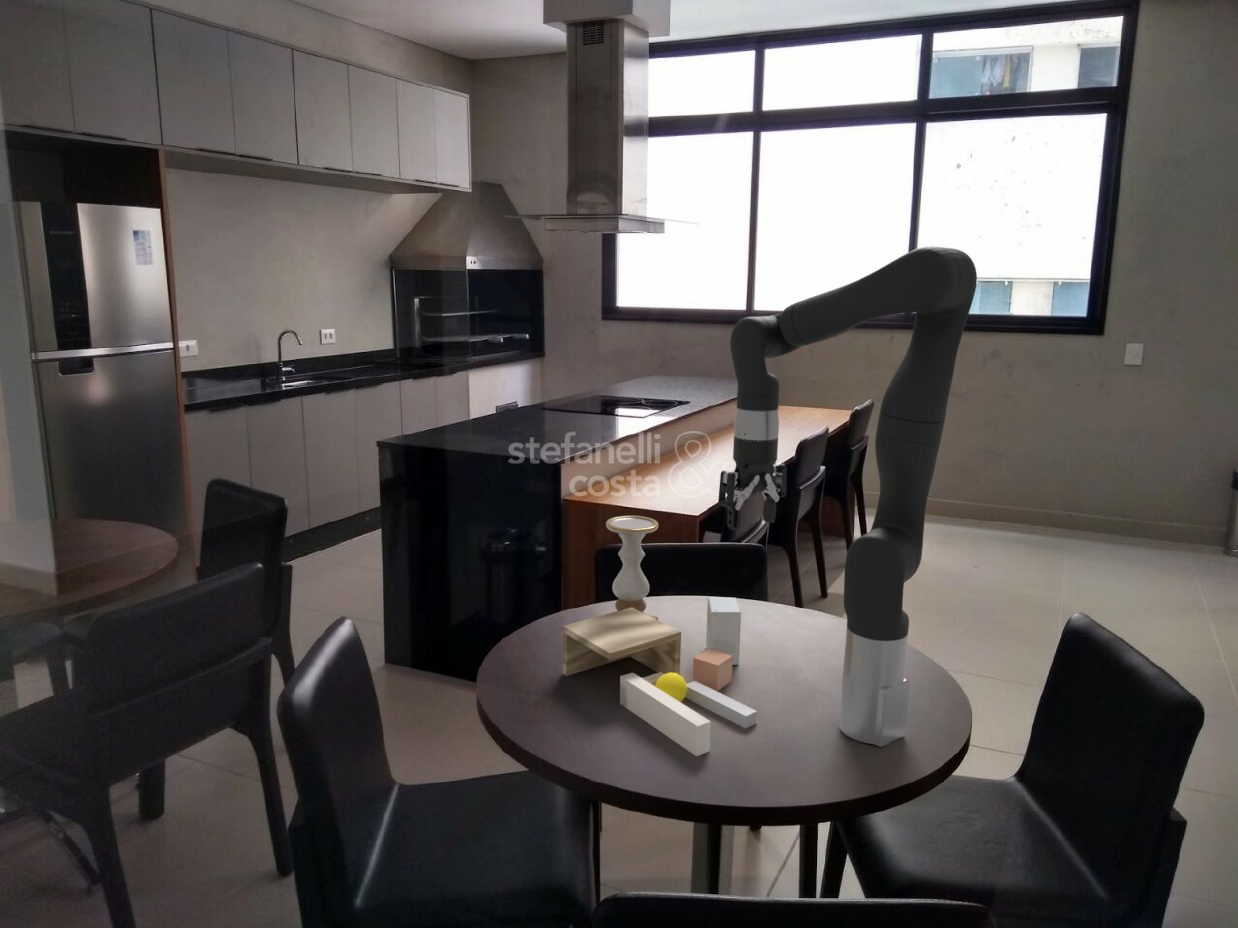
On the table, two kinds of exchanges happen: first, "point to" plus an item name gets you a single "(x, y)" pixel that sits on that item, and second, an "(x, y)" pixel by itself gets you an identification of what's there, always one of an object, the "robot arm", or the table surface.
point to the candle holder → (631, 561)
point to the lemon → (672, 685)
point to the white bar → (665, 712)
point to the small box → (724, 626)
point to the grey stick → (721, 704)
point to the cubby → (621, 642)
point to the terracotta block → (713, 669)
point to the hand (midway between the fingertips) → (751, 525)
